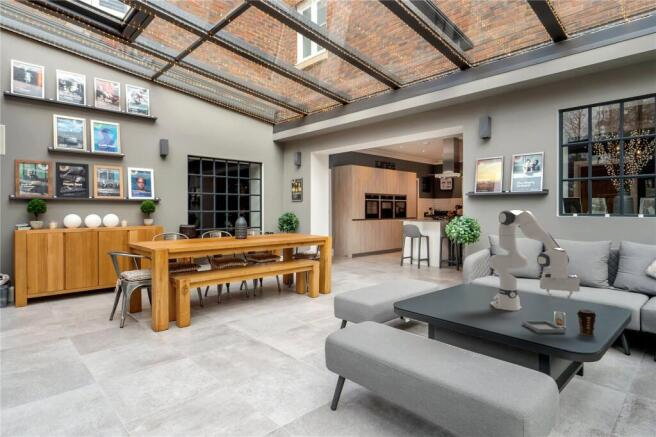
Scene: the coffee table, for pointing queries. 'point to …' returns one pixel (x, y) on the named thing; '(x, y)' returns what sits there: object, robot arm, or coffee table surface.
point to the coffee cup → (586, 321)
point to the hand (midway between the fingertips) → (559, 297)
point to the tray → (543, 327)
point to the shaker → (560, 316)
